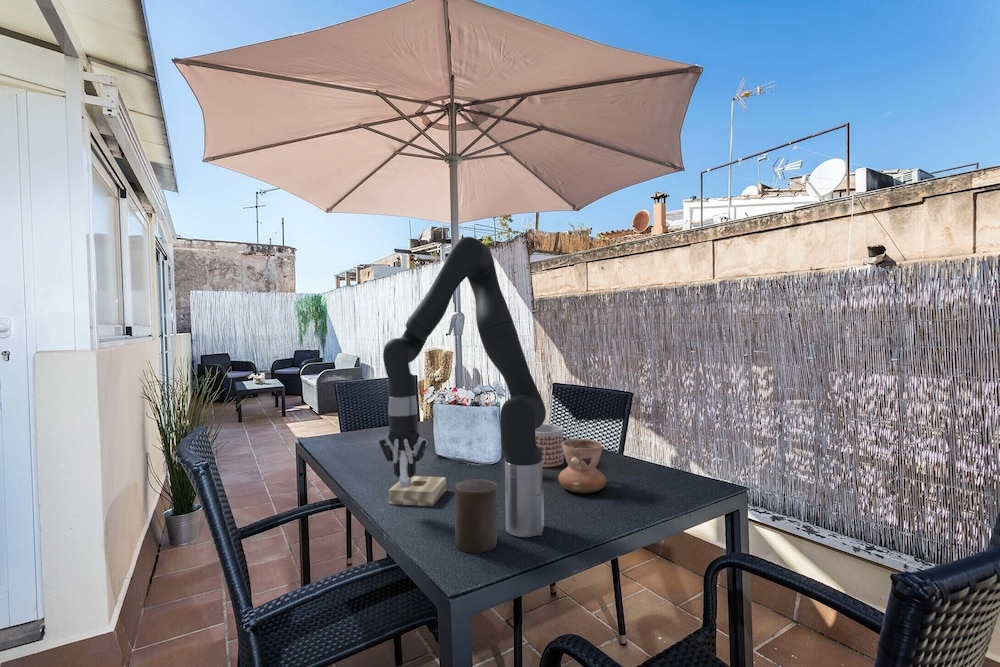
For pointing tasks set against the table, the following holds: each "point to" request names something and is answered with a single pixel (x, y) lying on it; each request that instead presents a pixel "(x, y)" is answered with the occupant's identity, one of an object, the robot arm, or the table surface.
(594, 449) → the terracotta incense burner
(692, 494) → the table surface
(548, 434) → the planter
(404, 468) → the steel pin
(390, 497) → the oak hole block
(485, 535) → the pillar candle
